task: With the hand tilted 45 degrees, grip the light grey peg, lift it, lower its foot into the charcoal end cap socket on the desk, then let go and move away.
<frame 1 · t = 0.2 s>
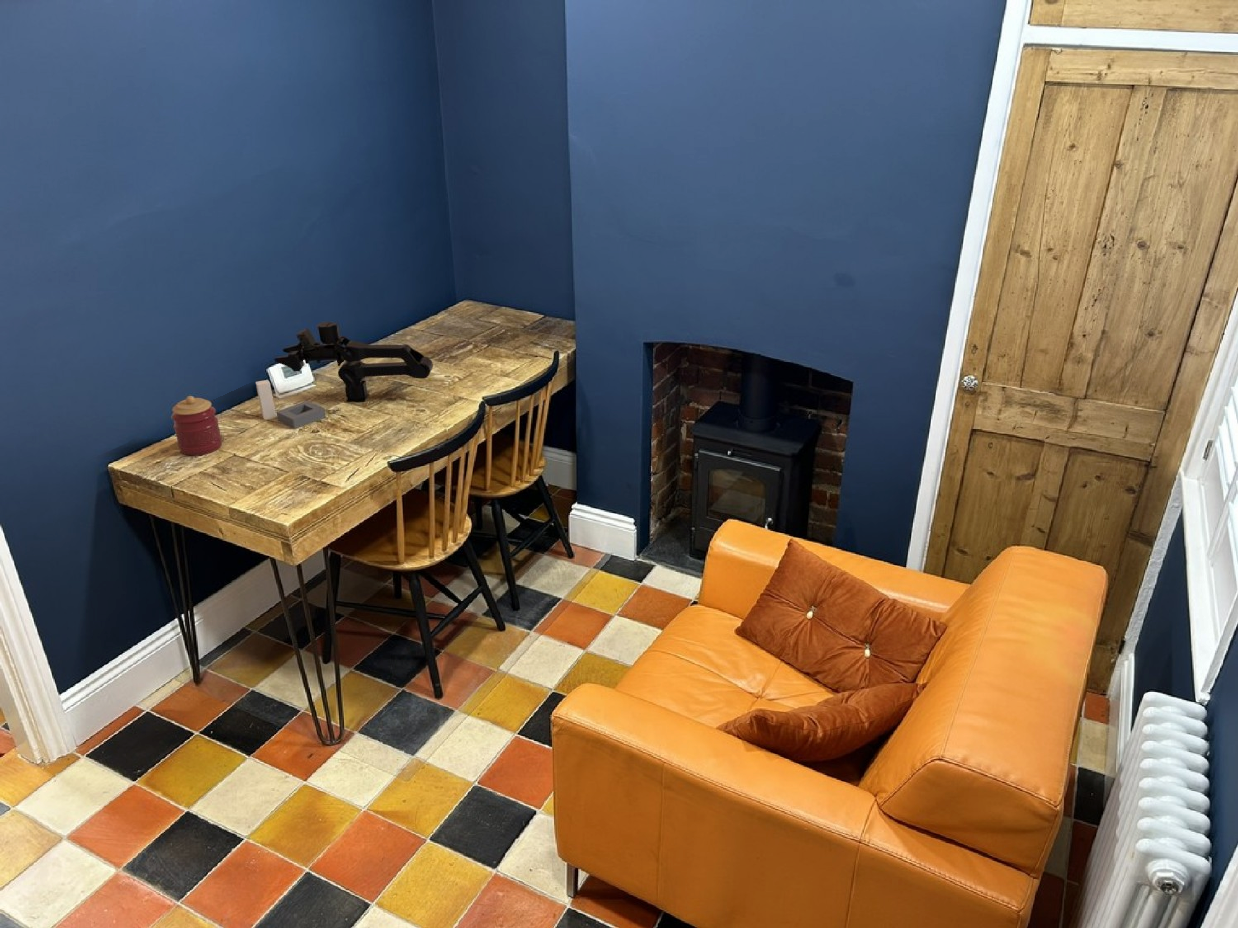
hand: (278, 355, 326), 17 cm above the table, tool horizontal, fingers open, 9 cm apart
canister: (201, 447, 300), on the table
light grey peg: (269, 416, 320), on the table
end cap: (302, 419, 318), on the table
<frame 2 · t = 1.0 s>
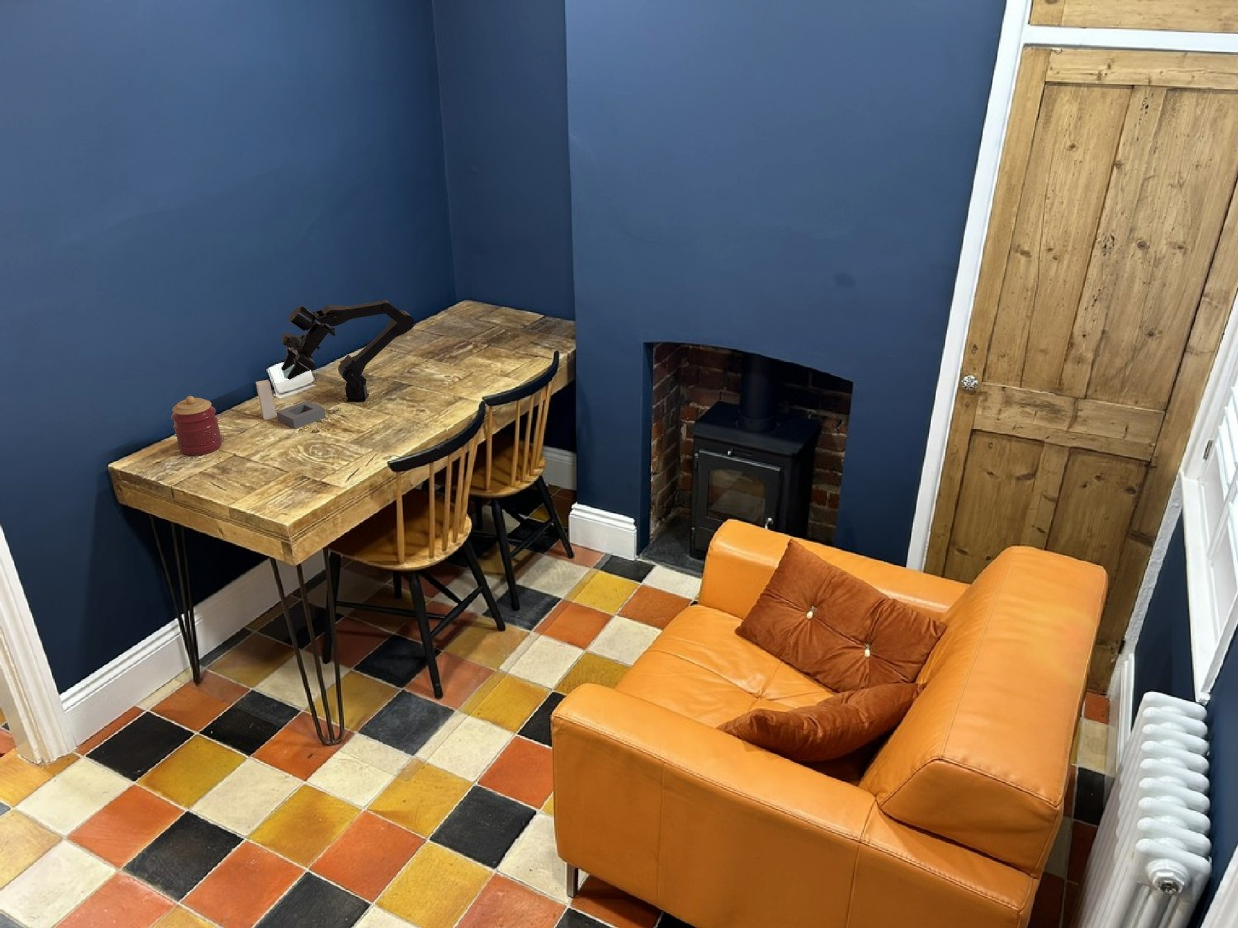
hand: (285, 374, 317), 14 cm above the table, tool tilted 45°, fingers open, 9 cm apart
nothing on the table moved.
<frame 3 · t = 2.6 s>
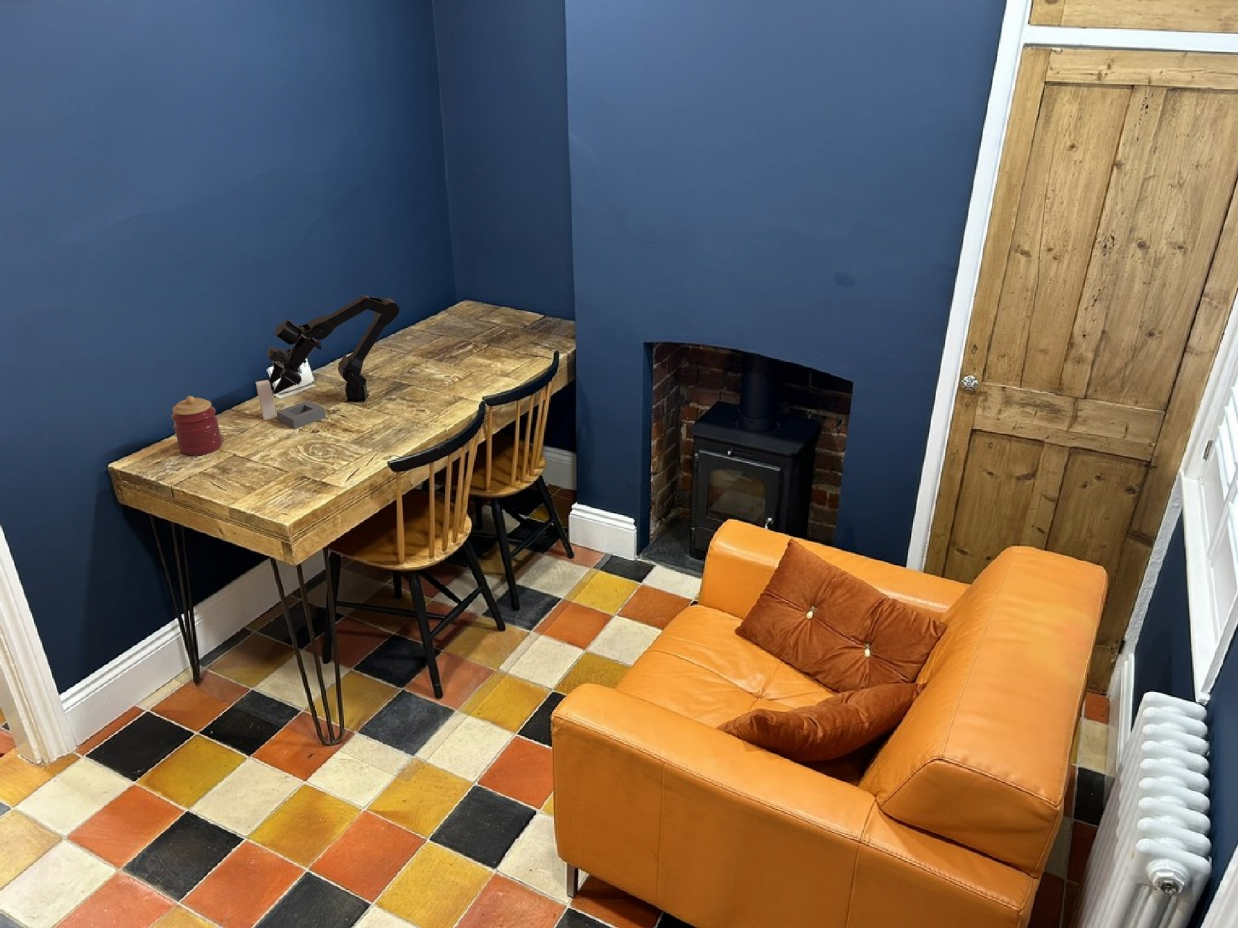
hand: (271, 388, 317), 10 cm above the table, tool tilted 45°, fingers open, 9 cm apart
nothing on the table moved.
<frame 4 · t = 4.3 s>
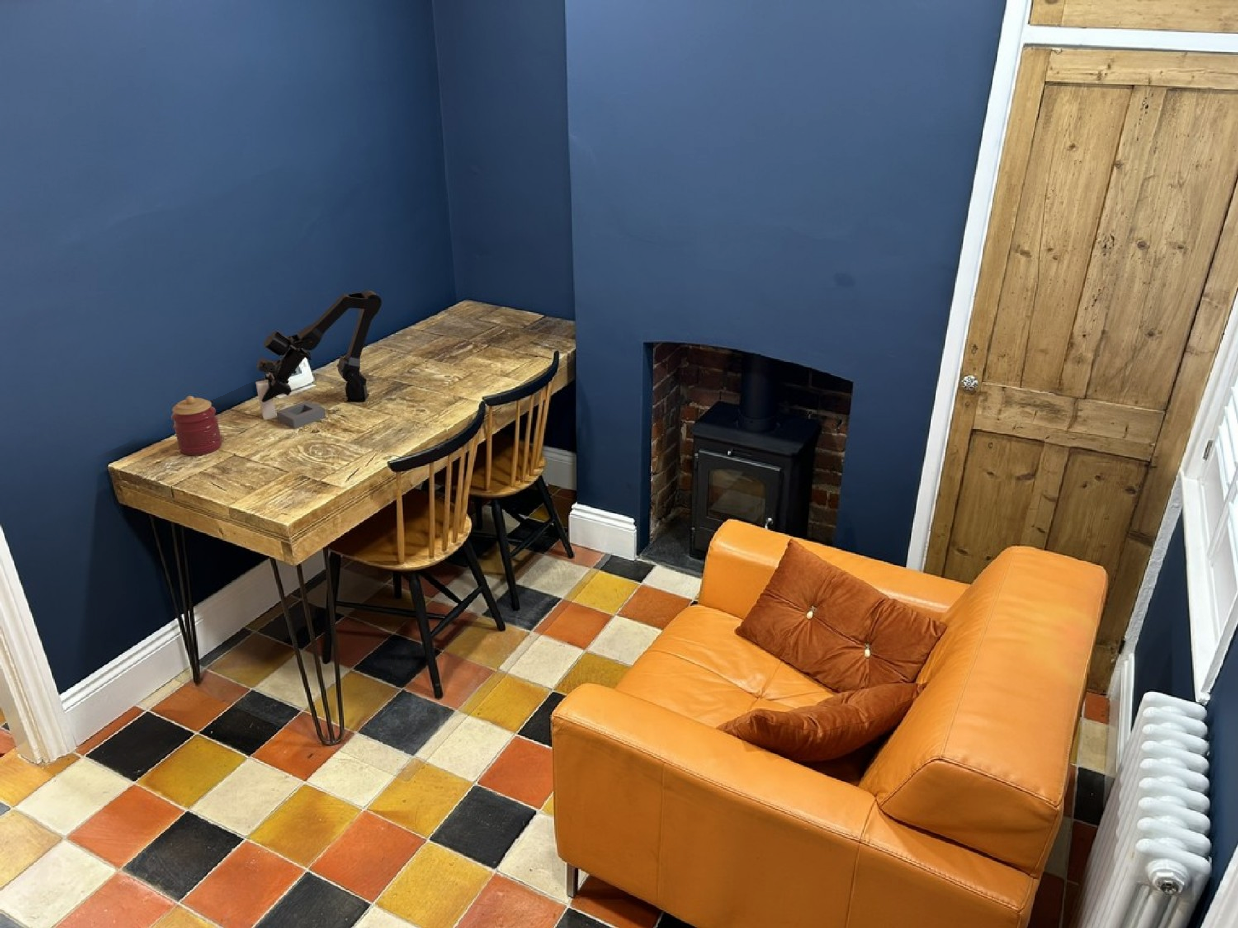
hand: (261, 399, 317), 7 cm above the table, tool tilted 45°, fingers closed on light grey peg, 3 cm apart
light grey peg: (269, 416, 320), on the table, touching gripper
everything else where it was.
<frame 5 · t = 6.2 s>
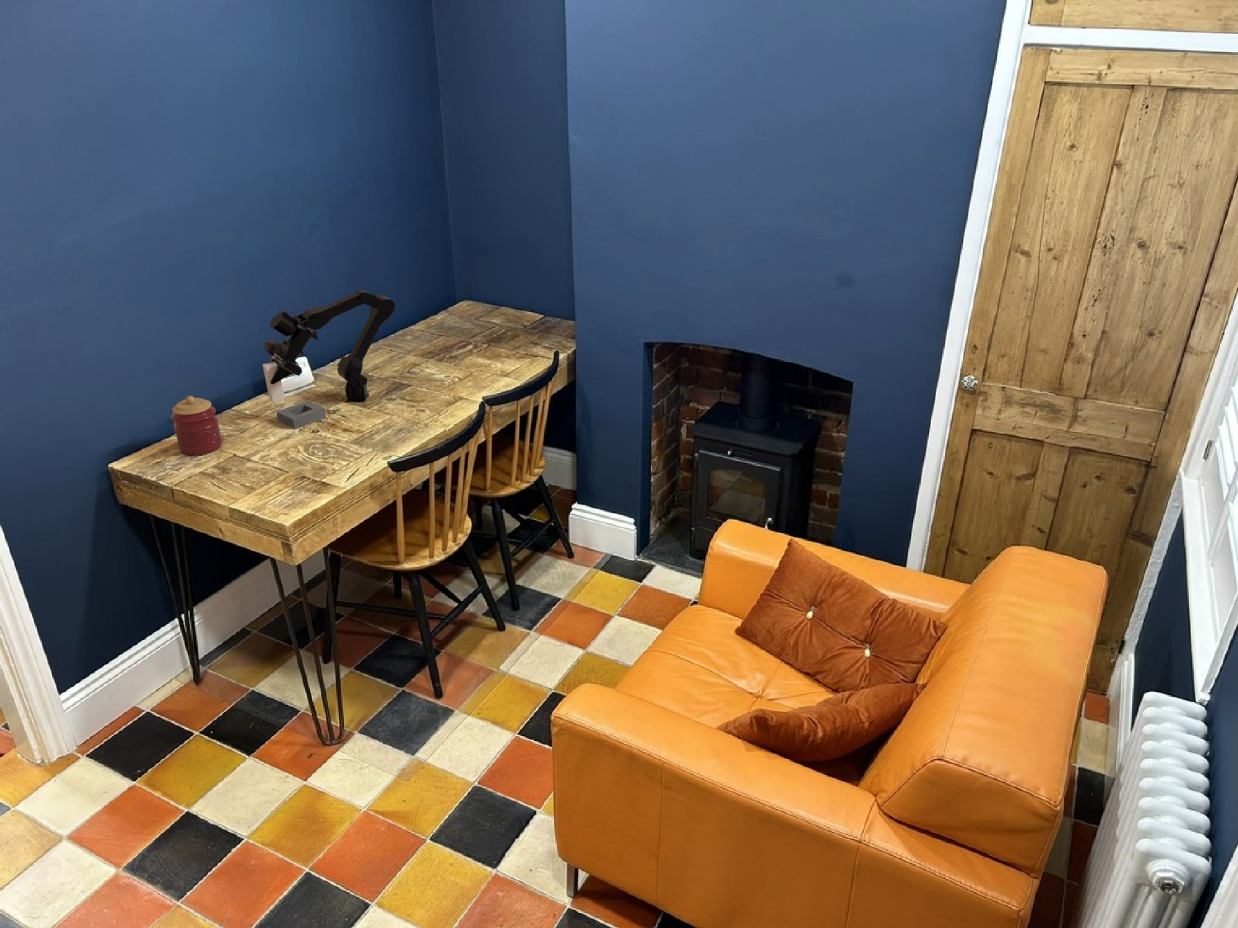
hand: (269, 382, 312), 14 cm above the table, tool tilted 45°, fingers closed on light grey peg, 3 cm apart
light grey peg: (277, 399, 316), point 7 cm above the table, touching gripper
everything else where it was.
when the fingers open (8 cm above the table, at t = 8.5 s): light grey peg drops 1 cm, resting in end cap.
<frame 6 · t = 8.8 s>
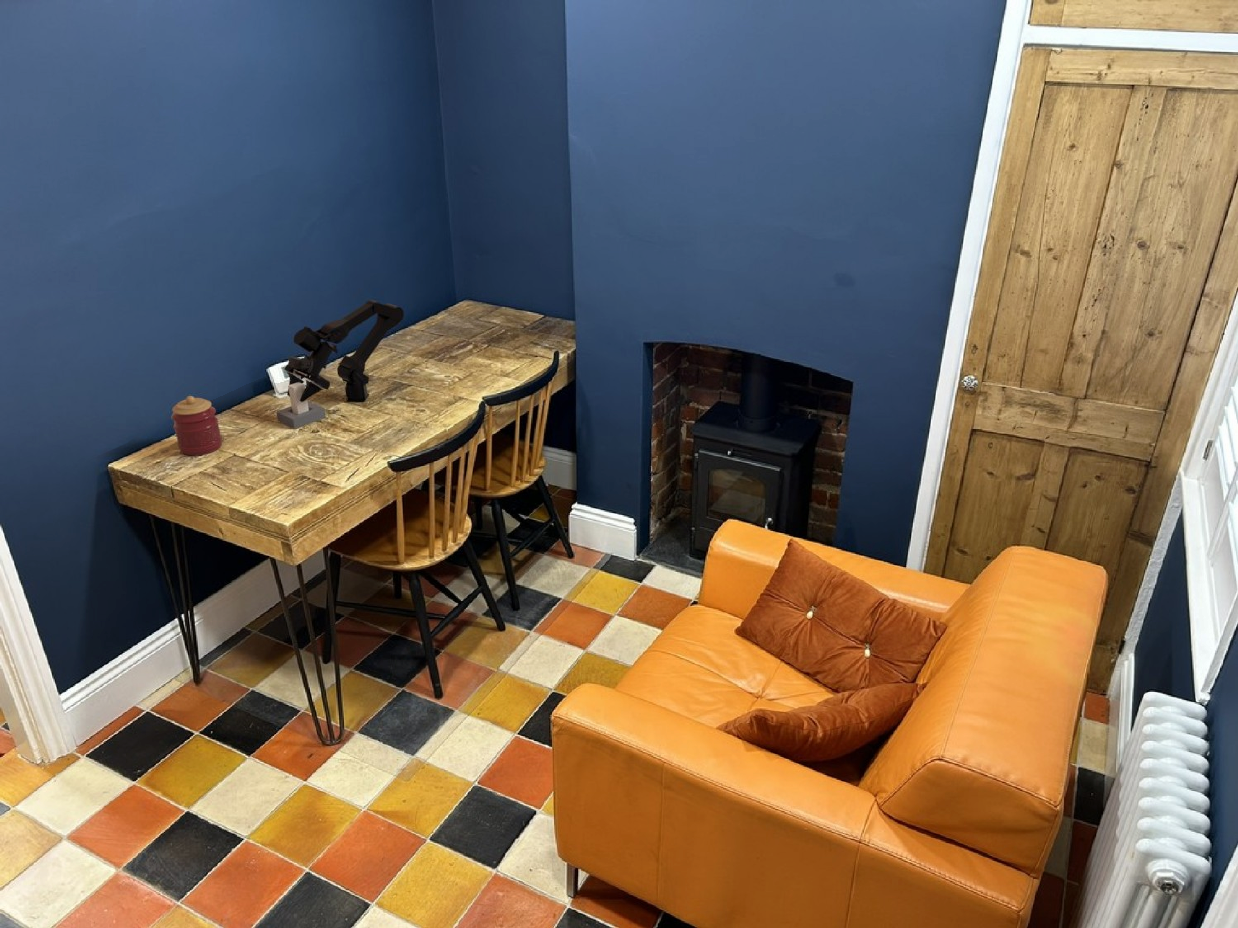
hand: (294, 398, 314), 8 cm above the table, tool tilted 45°, fingers open, 7 cm apart
light grey peg: (302, 419, 318), resting in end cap
everything else where it was.
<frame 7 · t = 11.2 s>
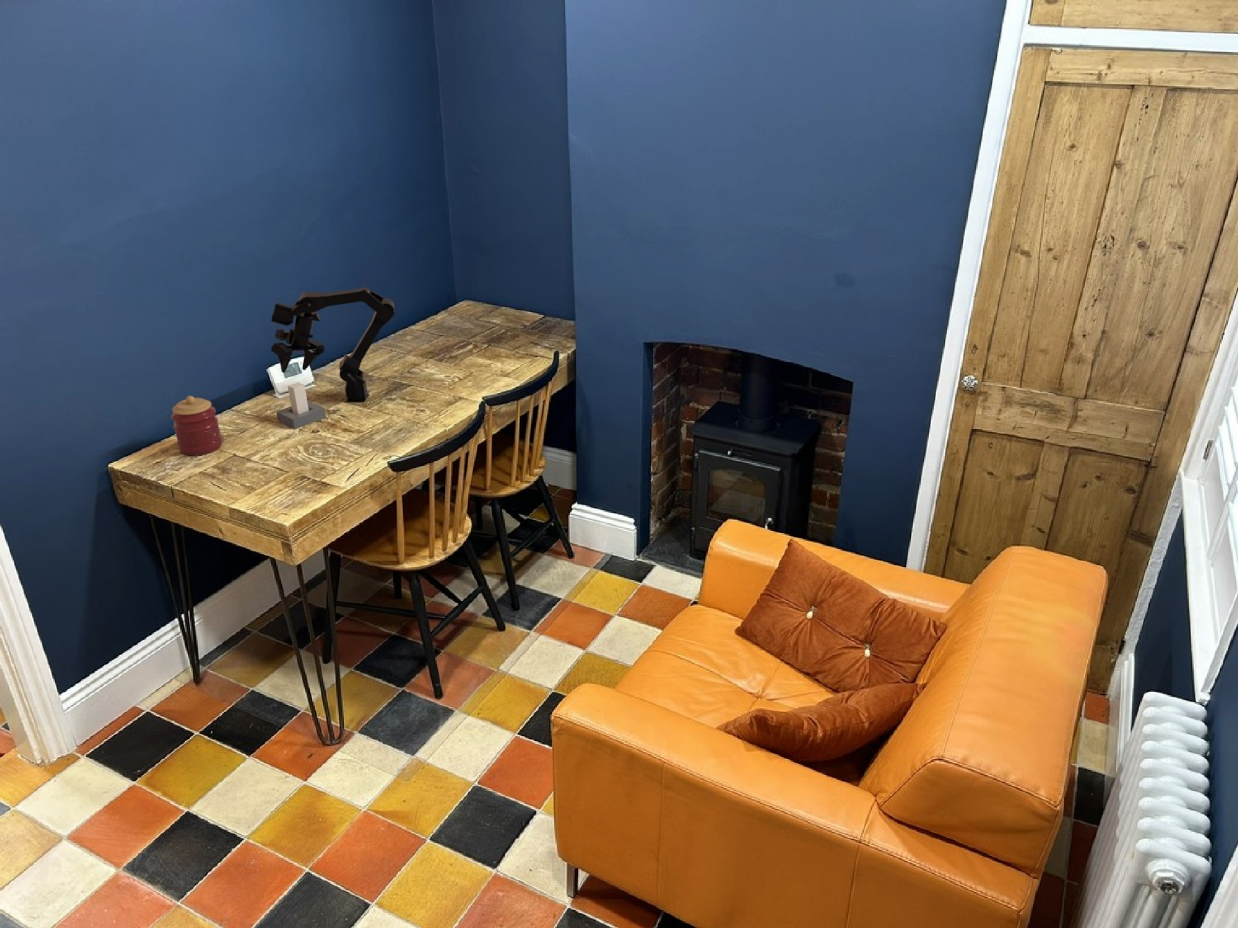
hand: (293, 371, 324), 12 cm above the table, tool tilted 20°, fingers open, 9 cm apart
nothing on the table moved.
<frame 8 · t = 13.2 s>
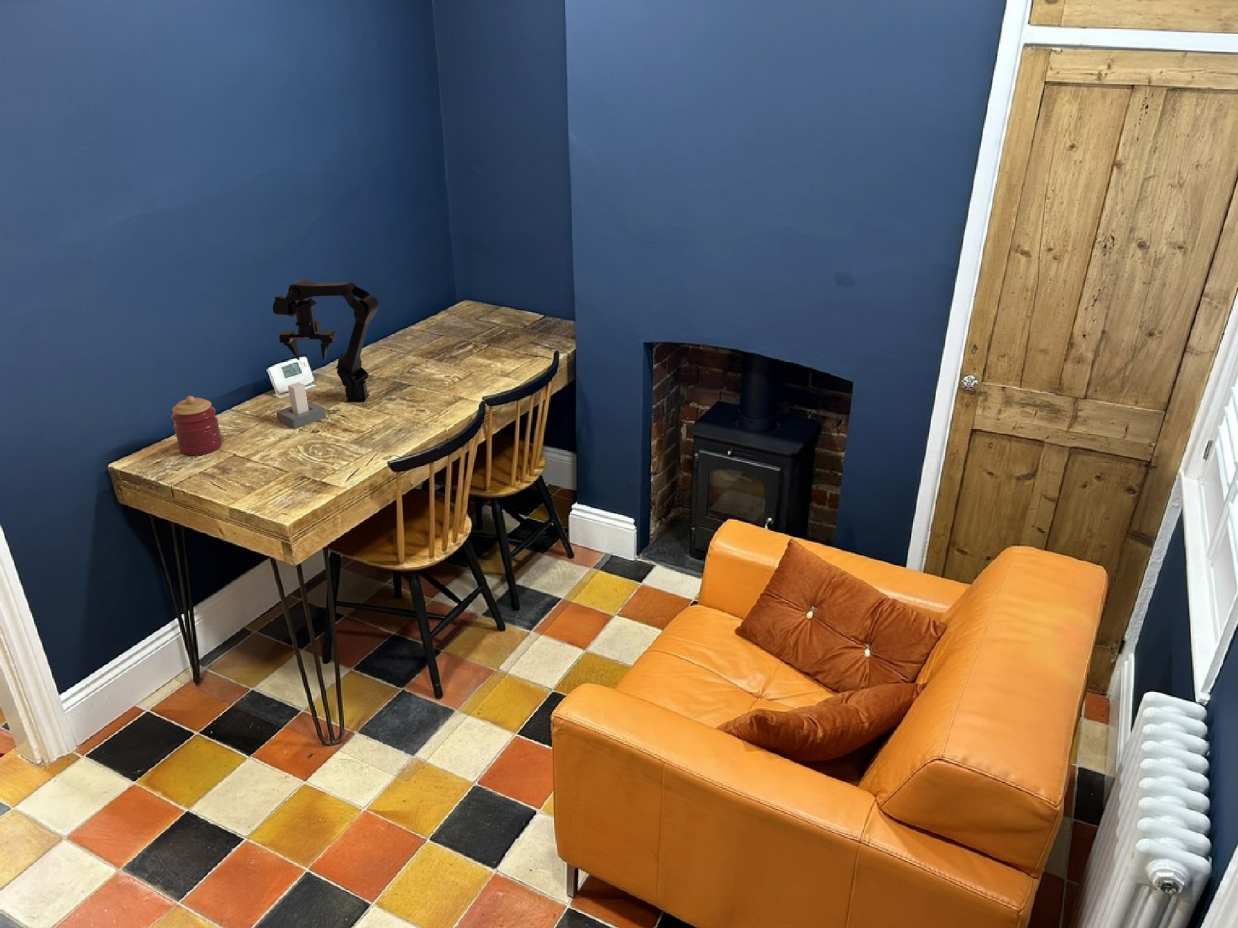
hand: (311, 359, 332), 13 cm above the table, tool pointing down, fingers open, 9 cm apart
nothing on the table moved.
at the end: light grey peg 0.0 cm off-centre on the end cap, point 0.0 cm above the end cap's base; light grey peg tilted 0°; the gripper is holding nothing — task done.
